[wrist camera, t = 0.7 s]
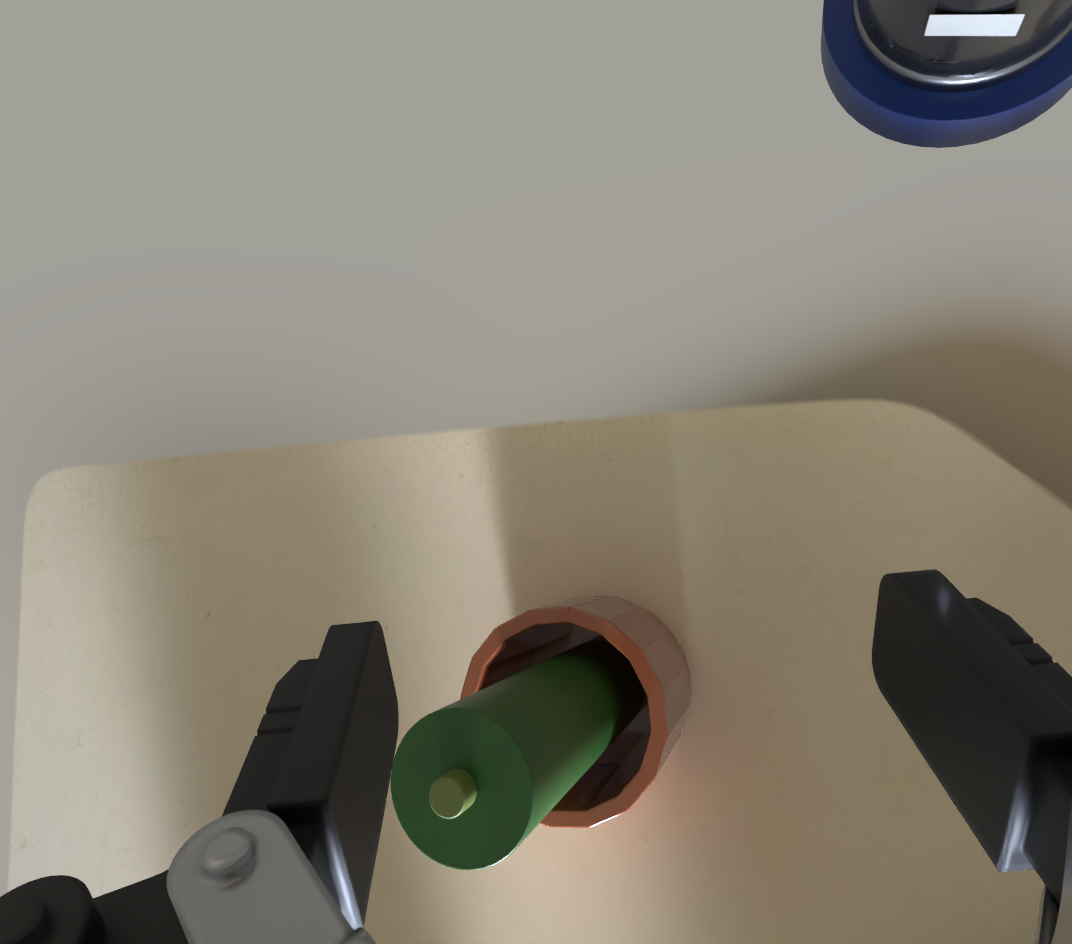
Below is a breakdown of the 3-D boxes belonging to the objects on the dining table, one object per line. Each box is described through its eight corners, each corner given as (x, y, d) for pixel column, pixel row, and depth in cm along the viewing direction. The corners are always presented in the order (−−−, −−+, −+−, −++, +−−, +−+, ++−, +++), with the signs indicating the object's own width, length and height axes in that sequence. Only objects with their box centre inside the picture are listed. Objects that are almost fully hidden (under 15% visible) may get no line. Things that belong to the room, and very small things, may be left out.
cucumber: (593, 621, 34) (437, 680, 19) (663, 684, 33) (556, 799, 18) (538, 688, 35) (346, 797, 20) (605, 752, 33) (454, 920, 18)
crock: (591, 560, 35) (545, 563, 28) (728, 678, 33) (712, 712, 26) (490, 687, 36) (422, 719, 29) (615, 811, 34) (572, 875, 27)
